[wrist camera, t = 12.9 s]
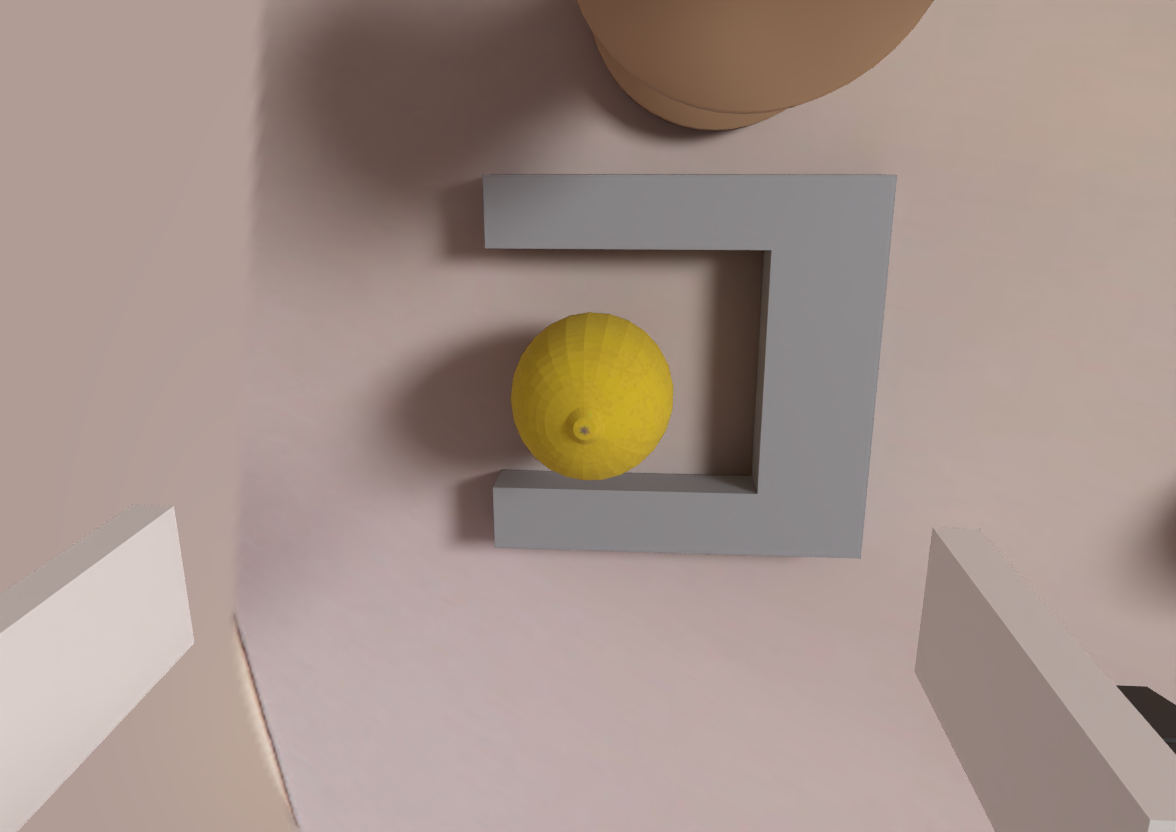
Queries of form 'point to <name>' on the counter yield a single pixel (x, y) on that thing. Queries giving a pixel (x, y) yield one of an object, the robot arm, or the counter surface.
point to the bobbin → (742, 52)
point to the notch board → (785, 359)
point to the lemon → (592, 396)
